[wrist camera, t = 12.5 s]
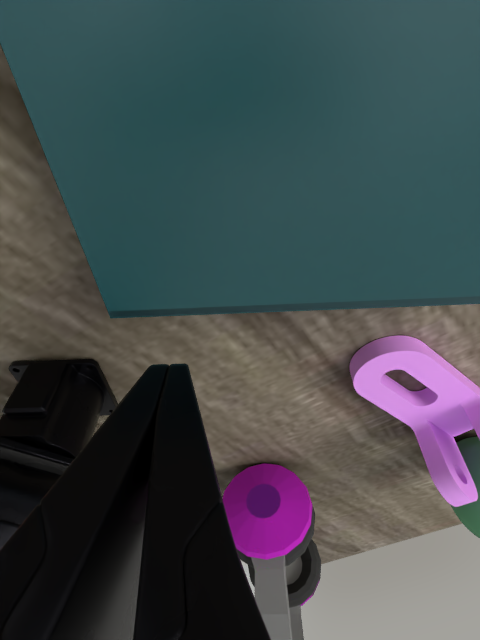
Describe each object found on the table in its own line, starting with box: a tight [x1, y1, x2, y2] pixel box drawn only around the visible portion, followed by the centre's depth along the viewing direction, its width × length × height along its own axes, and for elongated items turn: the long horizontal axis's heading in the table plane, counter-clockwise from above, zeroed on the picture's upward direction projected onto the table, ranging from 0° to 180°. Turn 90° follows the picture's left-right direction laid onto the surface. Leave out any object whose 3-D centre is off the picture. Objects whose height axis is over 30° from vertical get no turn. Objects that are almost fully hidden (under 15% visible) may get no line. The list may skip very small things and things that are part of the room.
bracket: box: [349, 336, 480, 507], centre depth 26 cm, size 13×6×7 cm, turn 50°
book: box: [0, 0, 480, 318], centre depth 15 cm, size 17×22×3 cm
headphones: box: [222, 463, 321, 640], centre depth 36 cm, size 21×9×20 cm, turn 11°
